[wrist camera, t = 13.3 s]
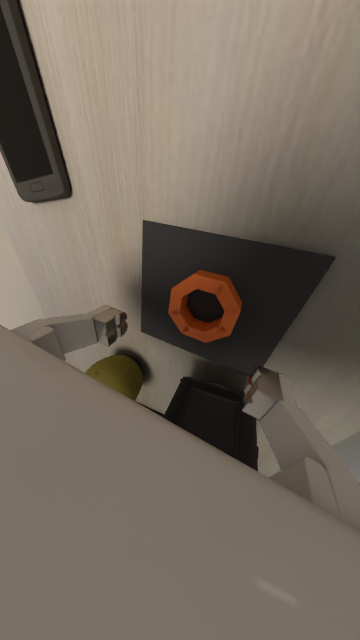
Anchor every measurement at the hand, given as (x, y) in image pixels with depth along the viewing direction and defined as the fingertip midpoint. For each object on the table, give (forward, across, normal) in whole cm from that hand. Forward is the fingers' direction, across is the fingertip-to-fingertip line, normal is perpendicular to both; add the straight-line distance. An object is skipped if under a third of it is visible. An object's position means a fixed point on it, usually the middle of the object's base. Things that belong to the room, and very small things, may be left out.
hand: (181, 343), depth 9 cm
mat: (+7, 0, 0) cm, 7 cm away
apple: (+6, +9, +14) cm, 18 cm away
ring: (+6, 0, 0) cm, 6 cm away
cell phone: (+7, +20, -13) cm, 25 cm away
